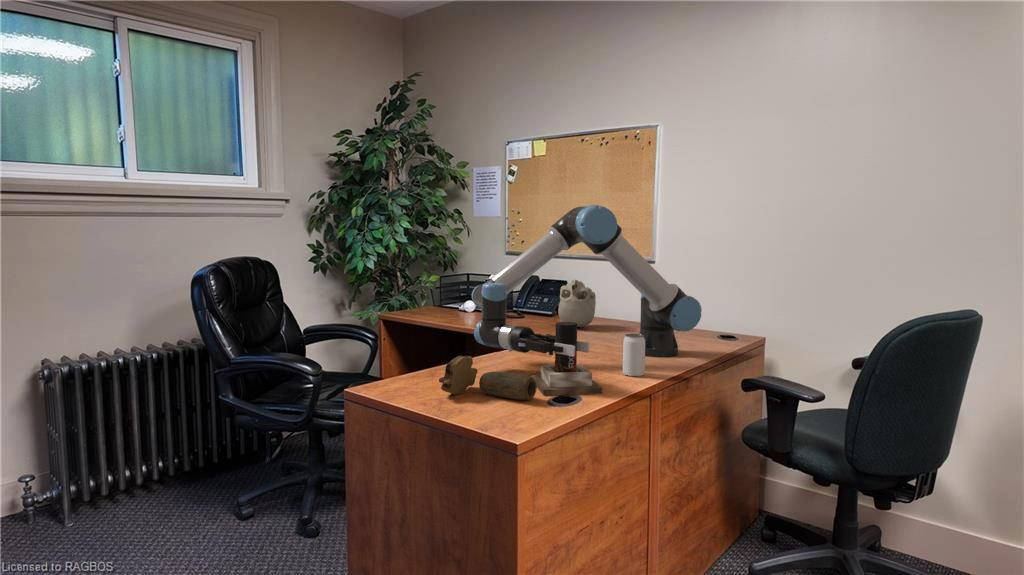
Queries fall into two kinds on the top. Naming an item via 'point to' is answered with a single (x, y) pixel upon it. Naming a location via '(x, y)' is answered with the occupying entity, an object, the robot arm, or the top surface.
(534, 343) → the robot arm
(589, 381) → the socket
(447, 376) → the wooden carving
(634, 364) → the can
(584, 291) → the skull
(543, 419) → the top surface
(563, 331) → the deodorant
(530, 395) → the olive hollow cylinder
